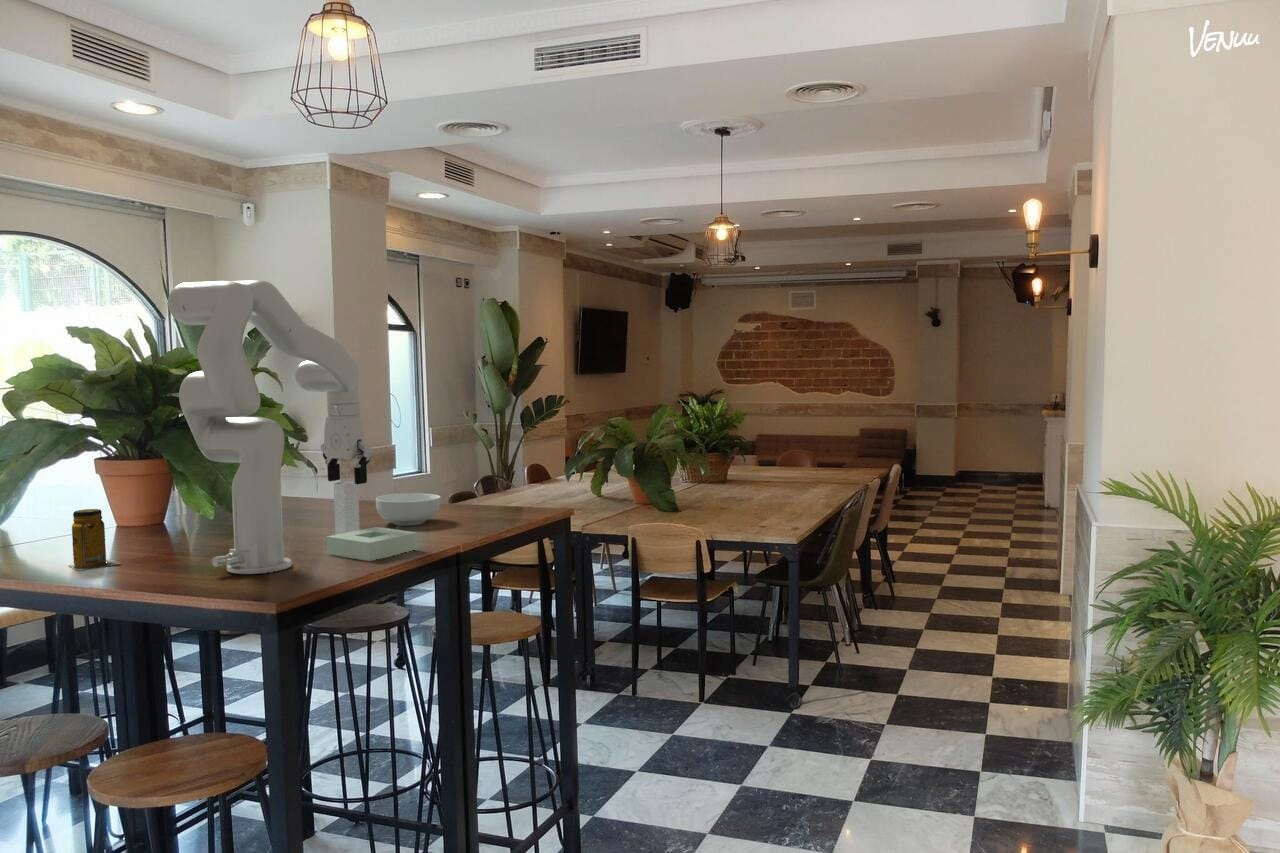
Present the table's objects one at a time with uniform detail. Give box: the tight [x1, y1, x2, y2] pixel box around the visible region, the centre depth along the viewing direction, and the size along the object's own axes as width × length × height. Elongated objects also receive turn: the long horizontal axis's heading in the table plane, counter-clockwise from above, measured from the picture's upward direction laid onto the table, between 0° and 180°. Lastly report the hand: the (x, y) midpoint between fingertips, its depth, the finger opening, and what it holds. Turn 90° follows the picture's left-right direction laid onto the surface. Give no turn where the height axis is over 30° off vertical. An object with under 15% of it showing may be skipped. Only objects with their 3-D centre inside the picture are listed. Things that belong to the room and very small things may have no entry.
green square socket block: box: [326, 526, 419, 562], centre depth 216 cm, size 14×14×4 cm
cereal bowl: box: [375, 492, 442, 526], centre depth 254 cm, size 17×17×7 cm
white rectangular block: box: [333, 480, 361, 535], centre depth 230 cm, size 4×4×14 cm
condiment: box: [68, 508, 122, 571], centre depth 204 cm, size 7×8×12 cm
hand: (347, 482), depth 230 cm, fingers open, 9 cm apart
